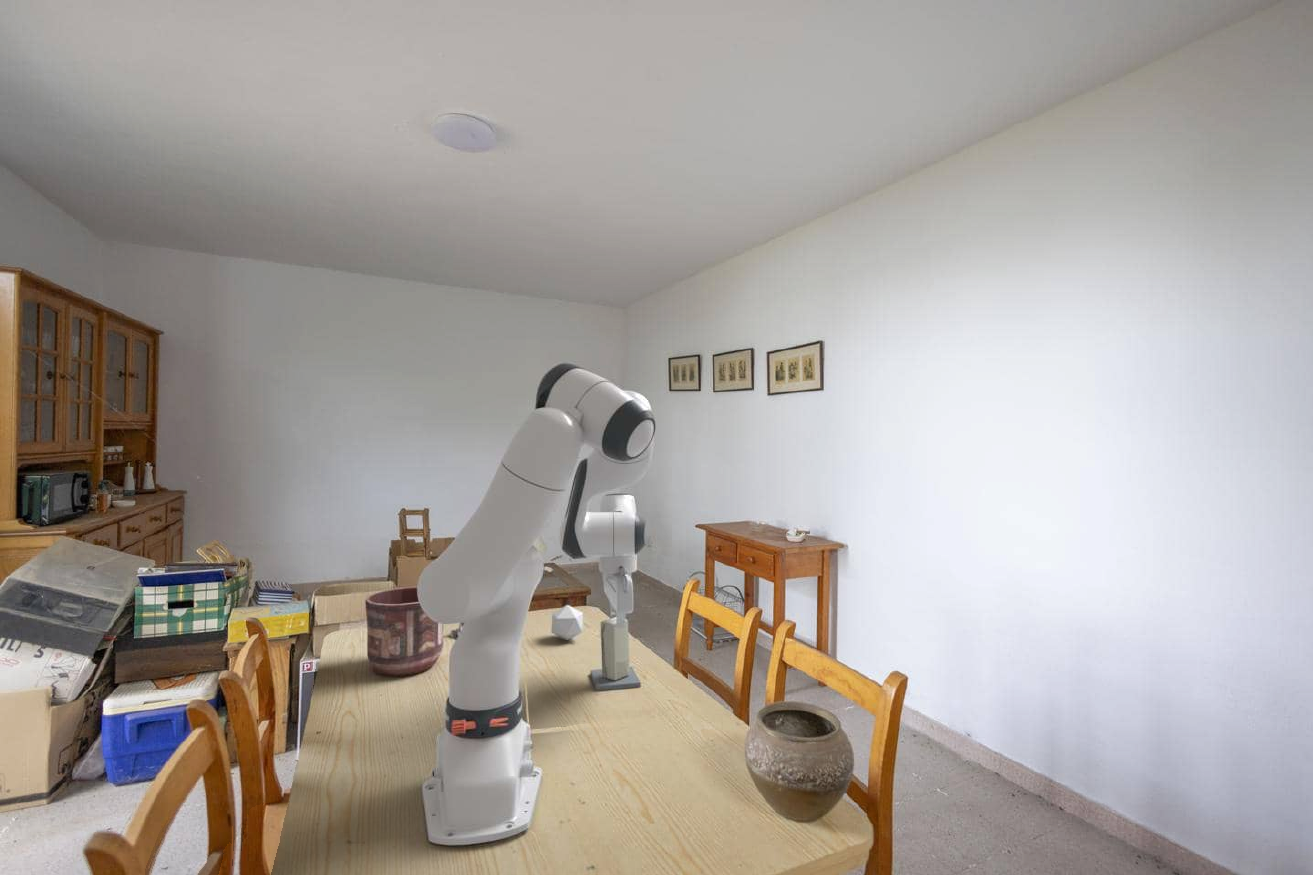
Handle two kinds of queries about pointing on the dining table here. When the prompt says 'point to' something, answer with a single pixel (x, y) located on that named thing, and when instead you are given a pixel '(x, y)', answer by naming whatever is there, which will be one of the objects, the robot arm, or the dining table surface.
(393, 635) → the pottery
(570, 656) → the dining table surface
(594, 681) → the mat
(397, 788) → the dining table surface
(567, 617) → the die
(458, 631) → the house of cards
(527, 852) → the dining table surface
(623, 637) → the box
